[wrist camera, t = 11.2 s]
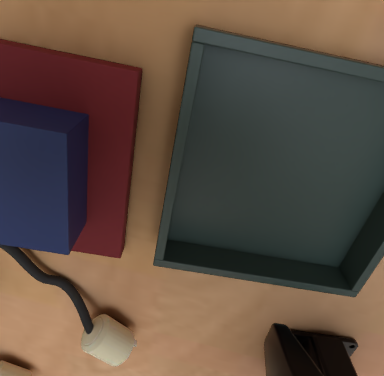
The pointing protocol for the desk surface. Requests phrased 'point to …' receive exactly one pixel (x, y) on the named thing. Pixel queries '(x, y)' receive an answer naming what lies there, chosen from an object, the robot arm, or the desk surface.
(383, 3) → the desk surface
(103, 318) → the cable
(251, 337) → the desk surface
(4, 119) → the blue rectangular block
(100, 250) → the dark red flat slab
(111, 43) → the desk surface
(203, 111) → the dark green tray
